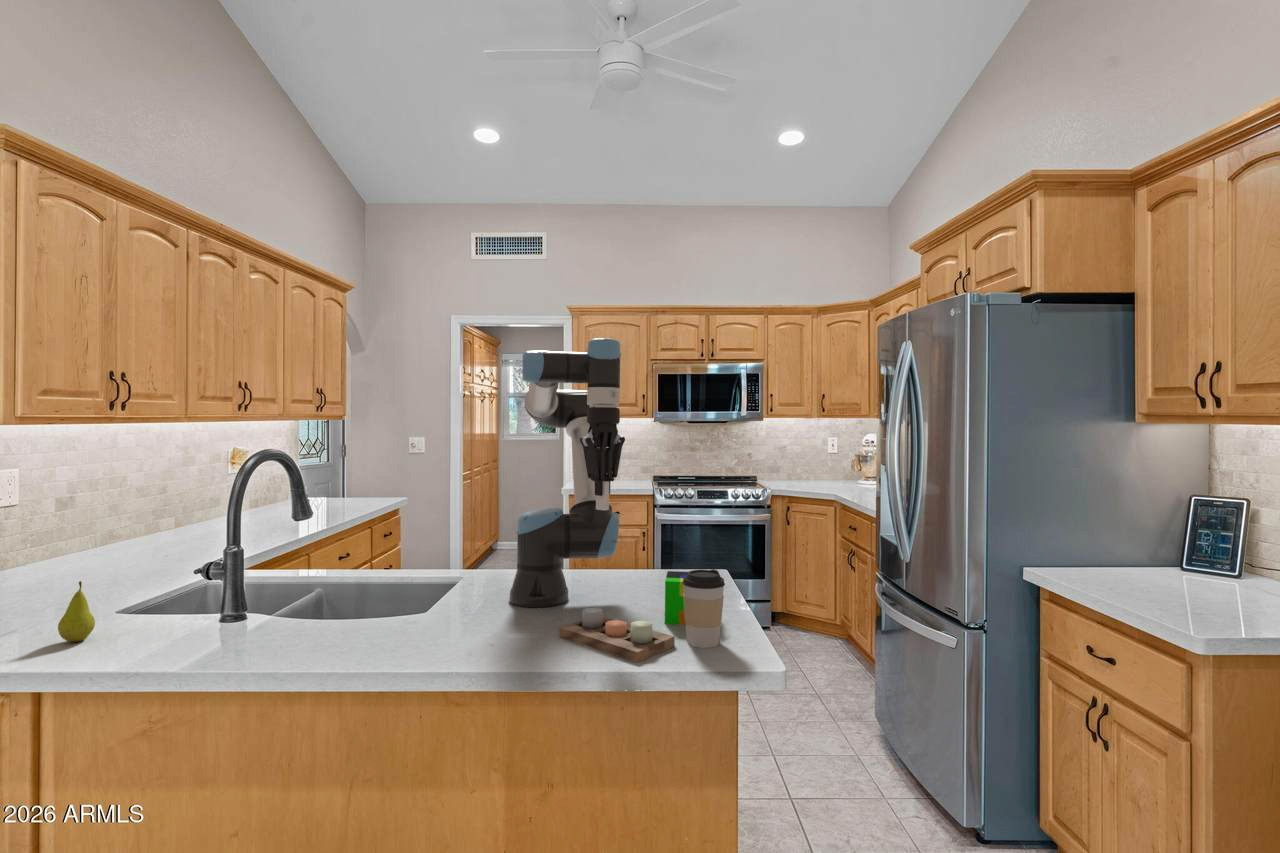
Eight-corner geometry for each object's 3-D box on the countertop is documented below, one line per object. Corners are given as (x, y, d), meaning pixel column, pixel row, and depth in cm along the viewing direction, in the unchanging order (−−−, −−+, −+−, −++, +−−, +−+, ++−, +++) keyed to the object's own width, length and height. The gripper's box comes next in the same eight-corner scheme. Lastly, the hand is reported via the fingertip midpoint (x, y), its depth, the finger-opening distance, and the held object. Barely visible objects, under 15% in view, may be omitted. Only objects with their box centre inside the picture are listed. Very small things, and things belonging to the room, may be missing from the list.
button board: (559, 636, 136) (559, 627, 136) (597, 623, 145) (598, 614, 145) (637, 662, 121) (637, 652, 121) (674, 646, 131) (674, 636, 131)
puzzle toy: (707, 613, 154) (708, 572, 154) (708, 626, 144) (708, 582, 144) (667, 611, 155) (667, 571, 155) (664, 624, 145) (665, 581, 145)
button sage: (625, 641, 128) (626, 624, 128) (640, 635, 132) (640, 619, 132) (642, 646, 125) (643, 629, 125) (656, 640, 129) (656, 624, 129)
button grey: (577, 626, 137) (577, 610, 137) (592, 621, 141) (592, 606, 141) (592, 630, 134) (592, 615, 134) (606, 625, 138) (606, 610, 138)
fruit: (64, 648, 126) (65, 588, 126) (52, 643, 128) (53, 584, 128) (100, 639, 131) (100, 582, 131) (88, 634, 133) (88, 578, 133)
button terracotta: (600, 639, 133) (601, 623, 133) (615, 634, 136) (615, 618, 136) (616, 644, 130) (616, 628, 130) (630, 639, 133) (631, 623, 133)
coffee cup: (696, 652, 127) (697, 578, 127) (673, 638, 135) (674, 569, 135) (732, 645, 131) (733, 573, 131) (708, 632, 139) (709, 565, 139)
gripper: (595, 405, 136) (594, 514, 137) (634, 407, 146) (633, 508, 147) (571, 406, 141) (570, 510, 141) (610, 407, 151) (609, 505, 151)
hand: (602, 509), depth 144 cm, fingers closed
